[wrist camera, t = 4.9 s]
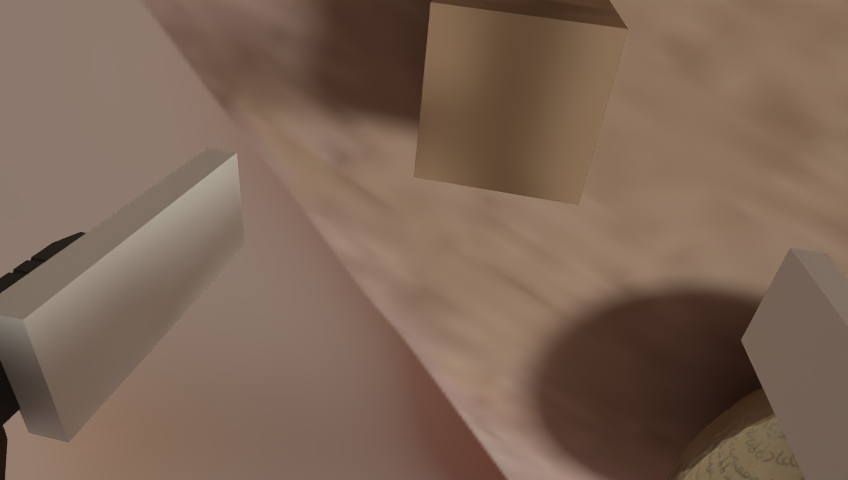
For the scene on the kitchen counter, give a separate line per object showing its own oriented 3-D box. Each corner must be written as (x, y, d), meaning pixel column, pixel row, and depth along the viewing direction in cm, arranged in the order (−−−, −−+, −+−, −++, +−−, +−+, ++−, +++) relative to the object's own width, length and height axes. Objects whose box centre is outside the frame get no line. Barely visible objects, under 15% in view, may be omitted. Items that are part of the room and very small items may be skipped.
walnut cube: (440, 122, 29) (413, 176, 24) (456, -21, 26) (430, 2, 20) (571, 143, 29) (578, 204, 23) (608, -1, 25) (628, 28, 19)
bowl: (1044, 419, 32) (1177, 557, 25) (764, 535, 41) (806, 657, 35) (827, 238, 29) (913, 341, 22) (578, 409, 38) (585, 516, 32)
